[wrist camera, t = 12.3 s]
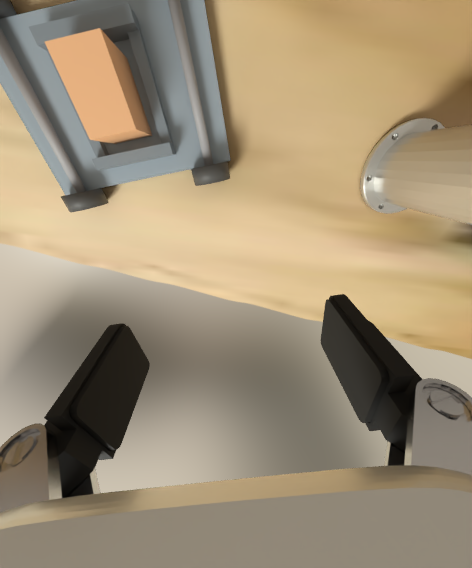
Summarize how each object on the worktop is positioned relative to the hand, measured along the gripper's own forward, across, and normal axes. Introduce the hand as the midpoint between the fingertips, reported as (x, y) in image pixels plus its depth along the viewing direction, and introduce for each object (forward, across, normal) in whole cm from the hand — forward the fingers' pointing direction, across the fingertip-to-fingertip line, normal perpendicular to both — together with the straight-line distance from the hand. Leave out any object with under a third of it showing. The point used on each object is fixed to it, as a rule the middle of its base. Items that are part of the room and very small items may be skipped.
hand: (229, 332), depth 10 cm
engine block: (+25, +11, -14) cm, 31 cm away
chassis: (+27, +11, -14) cm, 32 cm away
